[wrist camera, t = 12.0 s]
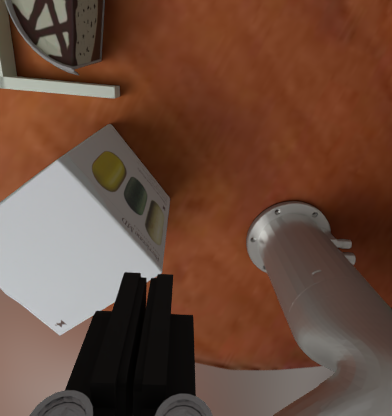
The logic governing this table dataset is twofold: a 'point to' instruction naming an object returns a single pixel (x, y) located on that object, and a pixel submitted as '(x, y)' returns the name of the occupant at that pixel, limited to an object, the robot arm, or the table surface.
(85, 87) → the bay
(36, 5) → the food container
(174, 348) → the robot arm
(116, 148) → the supplement box
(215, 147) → the table surface
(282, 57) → the table surface
